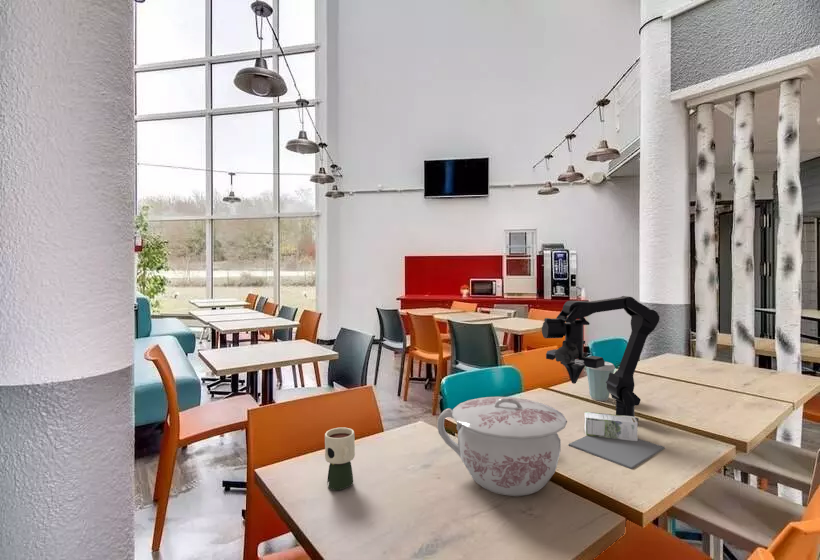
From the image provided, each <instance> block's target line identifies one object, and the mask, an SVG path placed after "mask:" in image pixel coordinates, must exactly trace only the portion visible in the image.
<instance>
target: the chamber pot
mask: <svg viewBox="0 0 820 560" xmlns="http://www.w3.org/2000/svg"><path fill="white" fill-rule="evenodd" d="M446 418H452V419H454V421H455V422H456V430H457V442H456V441H454V440H453V439H452V438H451V437H450V435H449V434H448V432H447V431H446V429H445V420H446ZM567 423H568V420H567V419H566V417H565V415H564V414H563V412H560V411H559V410H558V409H557V408H555V407H553V406H550V405H548V404H545V403H543V402H539V401H535V400H530V399H528V398H520V397H513V396H486V397H478V398H474V399H473V398H472V399H468V400H466V401H463V402H460V403H459V404H457V405H456V406H455V407H454V408H453V409H452V408H445V409H444V410H443V411H442V412H440V414H439V415H438V418H437V424H436V426H437V432H438V435H439V436H440V438H441V439H442V440H443V441H444V443H445V444H446V445H447V446H448V447H450V449H452V450H453V451H454V452H455V453H456V455H458V457H459V458H460V460H461V461H462V463H463V465H464V466H465V468H466V470H467V471H468V473H469V475H470V476H471V479H472V480H473V481H474V482H475V483H476V484H478V485H479V486H480V487H481V488H483V489H484V490H487V491H489V492H492V493H494V494H497V495H503V496H510V497H511V496H512V497H521V496H529V495H532V494H535V493H538V491H540V490H541V489H542V488H544V487H546V485H547V484H548V482H549V481H550V480H551V478H552V477H553V475H554V474H555V473H556V470H557V468H558V463H559V459H560V454H561V447H562V446H561V438H560V436H559V434H558V433H559V432H561V431H562V430H564V429H566V426H567Z"/></svg>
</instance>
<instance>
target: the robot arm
mask: <svg viewBox="0 0 820 560" xmlns="http://www.w3.org/2000/svg"><path fill="white" fill-rule="evenodd" d="M616 310H624V311H625V313H626V314H627V315H629V316H630V328H631V333H630V335H629V338H628V341H627V343H626V347H625V350H624V352H623V355H622V357H621V361H620V362H619V363H620V364H619V365H618V366H619V367H618V369H617V370H616V371H614V373H611V372H610V373H609V377H608V380H607V381H606V383H607V390H608V392H609V393H610V394H609V395H611V399H613V400H615V415H623V416H633V417H635V407H636V406H638V407H639V406H640V403H641V398H640V397H639V396H638V395H637V394H636V393H634V389H635V379H634V374H635V371H636V368H637V366H638V364H639V361H640V358H641V355H642V352H643V349H644V347H645V343H646V341H647V338H648V336H649V335H650V334H652V333H653V331H655V330H656V328H657V326H658V325H659V322H660V319H661V318H660V315H659V313H658V312H657V311H656V310H654V309H650V308H649V307H648V306H646V305H644V304H643V303H641V302H639V301H638V300H637V299H635V298H634V297H632V296H627V295H625V296H624V295H623V296H619V297H612V298H605V299H598V300H591V301H588V300H587V301H586V300H585V301H584V300H567V301H566V302H565V303H564V304H563V306H562V309H561V311H560V312H559V313H558V315H557V316H556V318H551V317H550V318H549V317H545V318H544V319H543V320H544V321H543V323H542V326H541V333H542V336H543V338H544V339H562V338H563V337H564V340H562V344H561V346H560V347H559V348H556V349H550V350H547V351H546V353H545V359H546V360H551V361H554V360H555V361H556V362H557V363H559V362H560V364H561V365H563V366H564V367H565V368H566V371H567V373H568V375H569V378H570V381H571V383H572V384H575V385H576V383H577V382H578V380H579V378H580V376H581V373H582V372H583V370H584V369H585V367H590V368H599V367H603V366H605V362H606V361H605V360H604V358H603V357H602V356H595V355H590V356H586V352H584V345H585V344H586V340H584V326H589V325H590V324H591V323H590V322H589V321H588V320H587V319H586V318H587V317H589V316H591V315H594V314H595V313H603V312H604V313H605V312H609V311H616ZM635 418H636V420H637V421H639V420H640V419H639V417H635Z"/></svg>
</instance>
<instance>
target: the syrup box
mask: <svg viewBox="0 0 820 560" xmlns="http://www.w3.org/2000/svg"><path fill="white" fill-rule="evenodd" d="M636 418H637V417H636ZM636 418H635V416H634V417H633V416H623V415H616V414H611V413H600V412H599V413H598V412H594V411H593V412H590V411H584V434H585V436H587V435H588V436H596V437H605V438H613V439H621V440H629V441H638V440H637V438H638V423H639V422H638V420H636Z"/></svg>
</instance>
